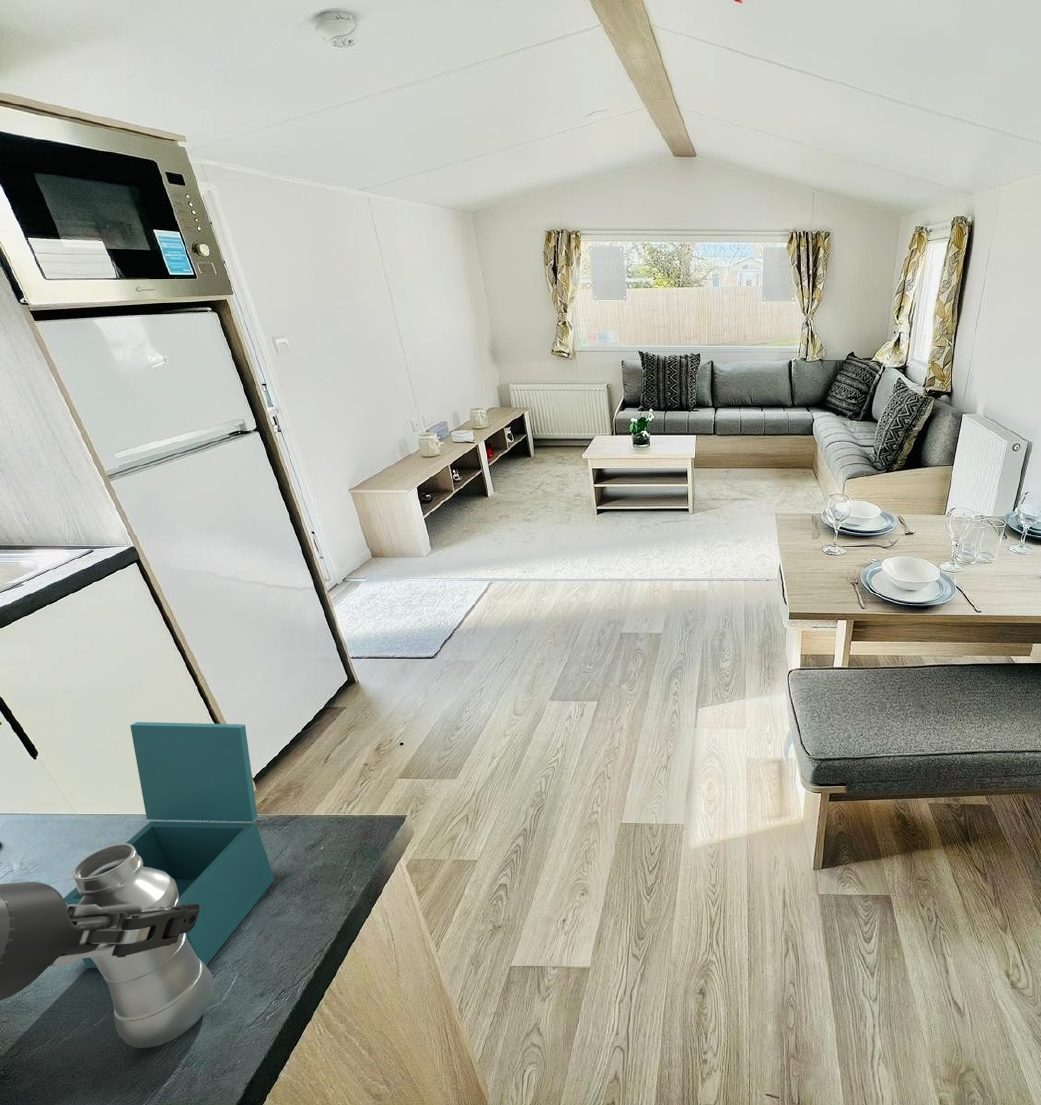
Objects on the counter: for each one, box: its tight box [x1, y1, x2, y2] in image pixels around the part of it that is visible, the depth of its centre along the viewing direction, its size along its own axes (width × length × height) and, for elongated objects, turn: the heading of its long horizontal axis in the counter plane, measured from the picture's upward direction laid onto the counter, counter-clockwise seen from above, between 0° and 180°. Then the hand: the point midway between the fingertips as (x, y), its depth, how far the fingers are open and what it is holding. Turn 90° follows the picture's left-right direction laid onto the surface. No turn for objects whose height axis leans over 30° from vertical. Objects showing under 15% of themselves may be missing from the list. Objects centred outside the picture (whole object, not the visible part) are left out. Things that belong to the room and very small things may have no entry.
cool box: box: [63, 820, 275, 969], centre depth 66 cm, size 11×12×9 cm
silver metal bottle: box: [72, 842, 214, 1049], centre depth 54 cm, size 6×7×20 cm
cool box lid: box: [129, 721, 258, 822], centre depth 68 cm, size 11×12×1 cm
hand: (152, 916), depth 55 cm, fingers closed on silver metal bottle, 6 cm apart
